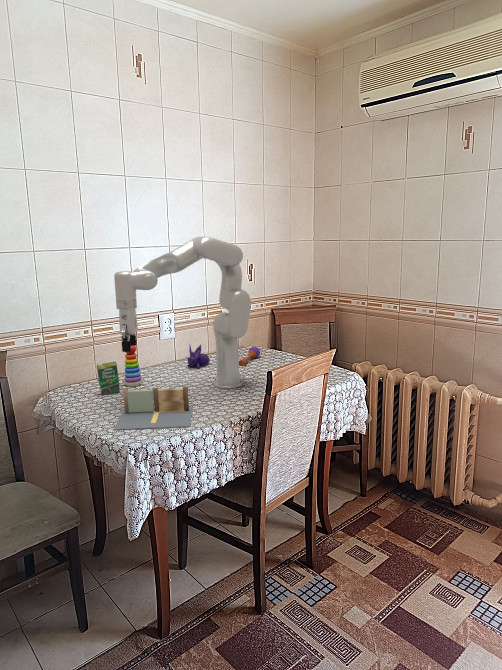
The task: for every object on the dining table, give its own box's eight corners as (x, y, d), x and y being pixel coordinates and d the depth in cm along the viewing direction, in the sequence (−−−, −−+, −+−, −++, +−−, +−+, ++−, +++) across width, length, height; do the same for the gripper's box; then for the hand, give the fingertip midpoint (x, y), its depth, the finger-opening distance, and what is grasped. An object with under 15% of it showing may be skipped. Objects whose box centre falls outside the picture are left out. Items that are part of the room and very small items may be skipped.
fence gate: (154, 409, 186) (152, 387, 184) (153, 411, 184) (151, 389, 182) (125, 410, 185) (123, 389, 183) (124, 412, 183) (122, 390, 182)
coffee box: (100, 395, 205) (97, 365, 203) (99, 393, 208) (96, 363, 205) (120, 392, 209) (117, 362, 206) (119, 390, 211) (116, 361, 208)
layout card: (192, 407, 190) (192, 406, 189) (189, 426, 171) (189, 425, 171) (124, 410, 188) (124, 409, 188) (113, 430, 170) (113, 429, 170)
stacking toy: (146, 382, 222) (143, 341, 218) (136, 387, 214) (133, 345, 210) (130, 380, 224) (127, 340, 220) (120, 386, 217) (117, 344, 213)
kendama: (234, 358, 243) (250, 345, 261) (237, 369, 245) (252, 356, 262) (245, 357, 241) (260, 344, 259) (248, 368, 242) (262, 355, 260)
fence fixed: (189, 409, 186) (187, 386, 184) (188, 411, 185) (187, 387, 183) (155, 410, 186) (153, 387, 184) (154, 412, 184) (152, 389, 182)
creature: (178, 369, 240) (176, 345, 237) (202, 360, 255) (200, 337, 252) (192, 372, 235) (191, 347, 233) (215, 363, 250) (214, 339, 247)
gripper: (131, 307, 178) (134, 353, 181) (141, 300, 195) (143, 343, 198) (110, 308, 178) (114, 354, 181) (121, 301, 194) (124, 343, 198)
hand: (129, 348), depth 190 cm, fingers open, 9 cm apart
